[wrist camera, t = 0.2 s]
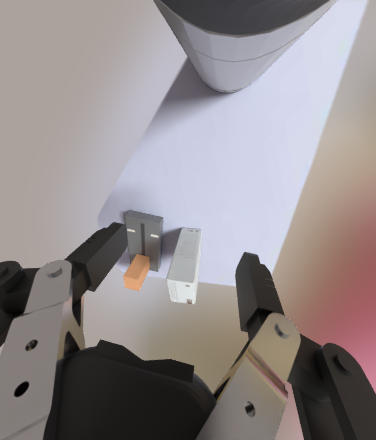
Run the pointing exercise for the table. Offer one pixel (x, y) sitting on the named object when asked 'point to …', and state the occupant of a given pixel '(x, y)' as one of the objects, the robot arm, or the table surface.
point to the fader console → (145, 237)
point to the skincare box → (185, 267)
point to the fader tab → (137, 272)
